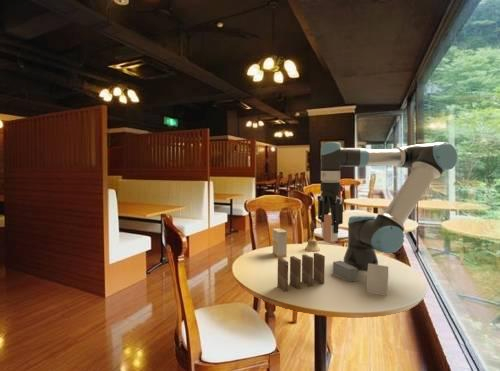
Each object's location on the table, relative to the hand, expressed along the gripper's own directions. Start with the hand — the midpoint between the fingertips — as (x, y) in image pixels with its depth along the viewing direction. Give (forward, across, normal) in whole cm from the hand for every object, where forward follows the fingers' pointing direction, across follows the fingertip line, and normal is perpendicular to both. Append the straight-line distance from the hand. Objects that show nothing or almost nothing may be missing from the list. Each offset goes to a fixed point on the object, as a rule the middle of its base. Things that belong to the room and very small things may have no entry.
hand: (329, 239), depth 115 cm
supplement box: (+17, -36, -3) cm, 40 cm away
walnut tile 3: (+17, 0, -11) cm, 20 cm away
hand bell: (+17, -38, +19) cm, 46 cm away
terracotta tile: (+1, 0, 0) cm, 1 cm away
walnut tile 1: (+16, +1, -22) cm, 27 cm away
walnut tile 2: (+17, +1, -16) cm, 23 cm away
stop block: (+17, 0, +8) cm, 18 cm away
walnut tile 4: (+17, 0, -5) cm, 17 cm away
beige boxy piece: (+17, +16, +9) cm, 25 cm away
